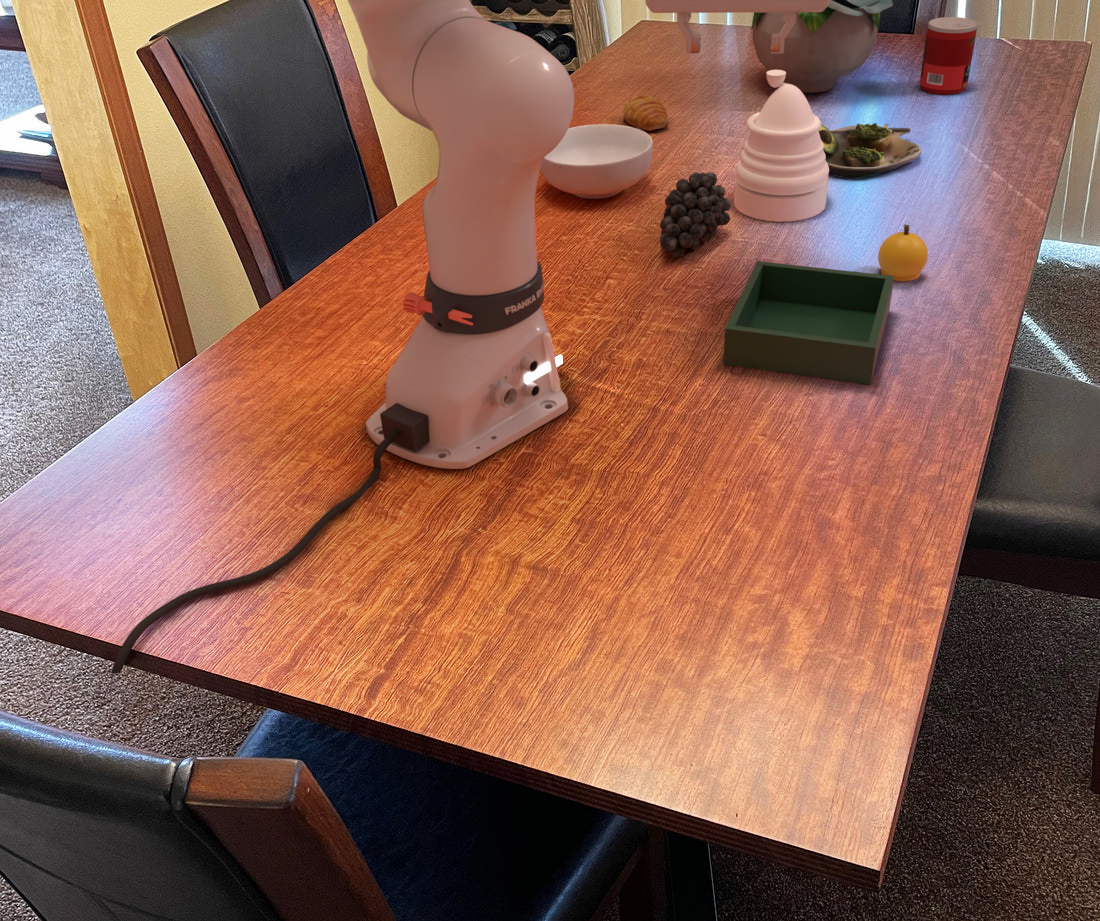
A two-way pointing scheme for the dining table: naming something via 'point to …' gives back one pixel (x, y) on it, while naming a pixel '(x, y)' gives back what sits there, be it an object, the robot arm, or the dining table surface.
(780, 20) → the flower arrangement
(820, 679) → the dining table surface
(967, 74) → the canned food
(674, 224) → the fruit
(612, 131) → the cereal bowl
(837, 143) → the salad plate
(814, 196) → the honey pot
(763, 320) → the crate
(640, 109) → the pastry
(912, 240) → the orange
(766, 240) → the dining table surface
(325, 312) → the dining table surface
